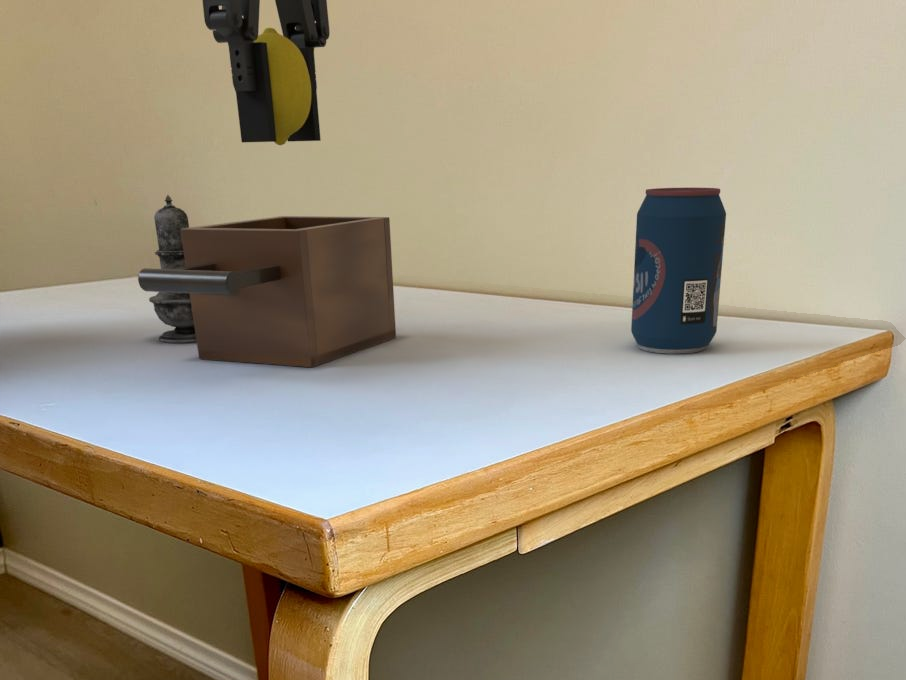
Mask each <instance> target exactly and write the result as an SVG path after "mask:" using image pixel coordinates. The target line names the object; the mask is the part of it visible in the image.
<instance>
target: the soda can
mask: <svg viewBox="0 0 906 680" xmlns="http://www.w3.org/2000/svg"><path fill="white" fill-rule="evenodd" d="M720 194H721V189H720V188H718V187H659V188H658V187H657V188H648V189H645V196H644V199H643V201H642V203H641V204H640V207H639V208H638V211H637V213H636V226H635V244H634V245H635V246H634V266H633V267H634V268H633V285H632V286H633V288H632V305H631V306H632V307H631V327H630V331H631V334H632V337H633V338H634V340H635V343H636V344H637V346H638V348H639V349H640V350H642V351H645V352H649V353H656V354H671V355H672V354H674V355H675V354H676V355H677V354H692V353H698V352H703V351H705V350H706V349H707V348H708V346H709V345H710V344H711V342H712V340H713V339H714V338H715V336H716V334H717V330H718V317H719V306H720V294H721V293H720V292H721V284H722V283H721V282H722V270H723V269H722V268H723V256H724V246H725V245H724V244H725V233H726V220H727V212H726V209H725V207H724V203H723V201H722V198H721V196H720Z"/></svg>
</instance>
